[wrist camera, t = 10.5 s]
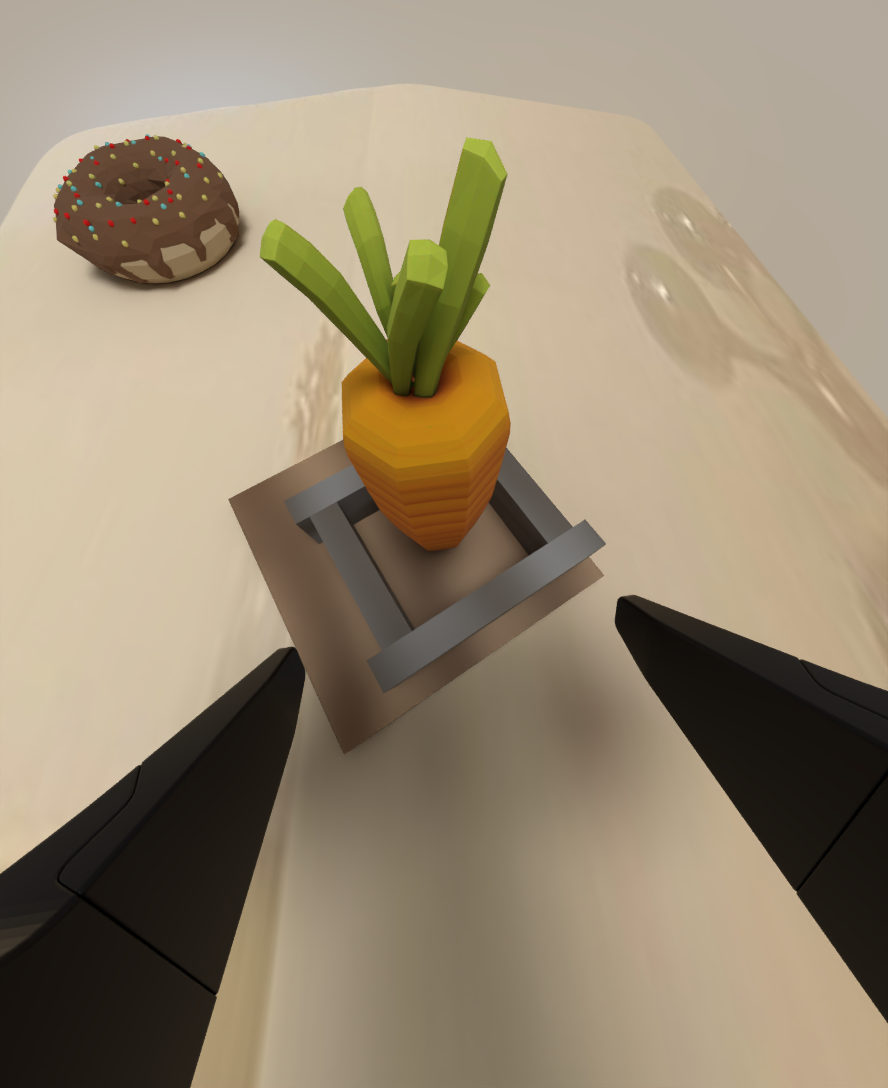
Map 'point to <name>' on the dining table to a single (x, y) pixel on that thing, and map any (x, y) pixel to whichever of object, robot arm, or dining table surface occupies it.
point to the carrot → (416, 357)
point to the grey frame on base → (403, 584)
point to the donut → (147, 210)
